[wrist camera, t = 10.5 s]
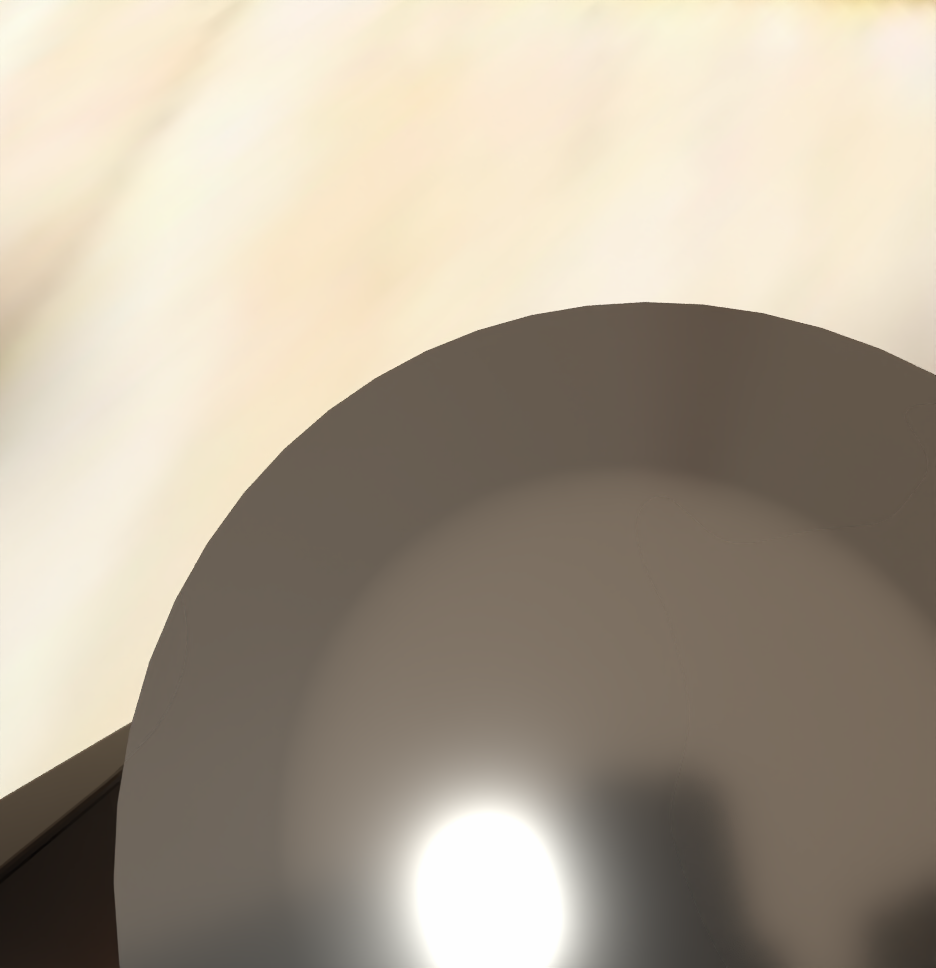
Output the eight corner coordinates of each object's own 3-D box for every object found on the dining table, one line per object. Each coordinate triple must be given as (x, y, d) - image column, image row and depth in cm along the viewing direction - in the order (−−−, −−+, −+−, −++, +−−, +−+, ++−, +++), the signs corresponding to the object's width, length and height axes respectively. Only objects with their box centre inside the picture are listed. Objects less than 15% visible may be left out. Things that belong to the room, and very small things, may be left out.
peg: (604, 1084, 14) (918, 2205, 2) (388, 868, 15) (-100, 821, 4) (768, 836, 15) (1504, 679, 3) (554, 664, 17) (565, 177, 5)
